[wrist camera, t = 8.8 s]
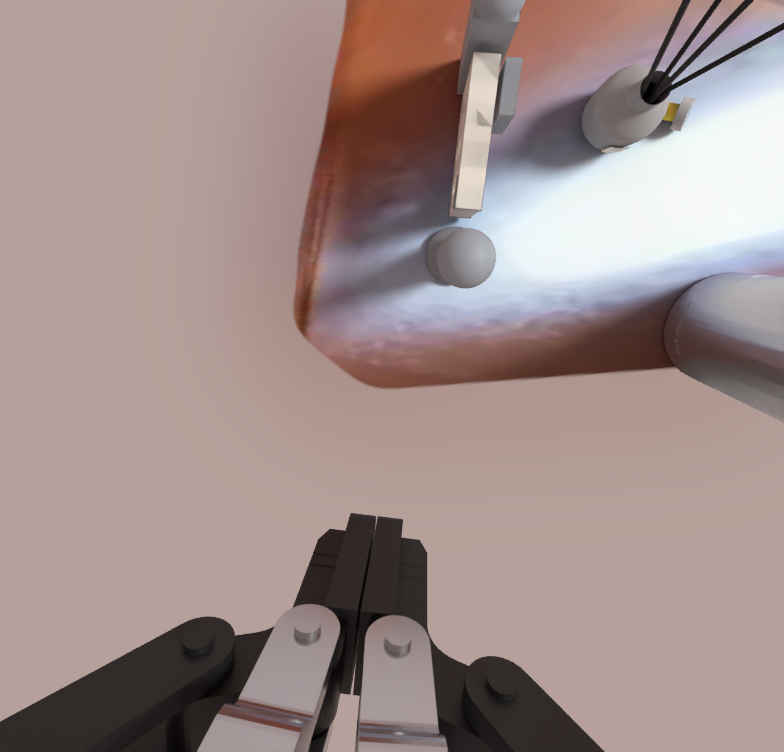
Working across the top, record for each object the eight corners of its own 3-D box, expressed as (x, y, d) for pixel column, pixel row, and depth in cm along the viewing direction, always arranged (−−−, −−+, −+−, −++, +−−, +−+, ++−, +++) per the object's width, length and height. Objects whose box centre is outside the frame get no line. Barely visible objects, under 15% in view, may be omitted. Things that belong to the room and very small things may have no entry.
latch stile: (508, 58, 34) (560, -59, 21) (497, 140, 36) (539, 78, 23) (458, 55, 34) (478, -63, 21) (449, 136, 36) (463, 73, 23)
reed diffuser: (550, 165, 36) (693, 71, 17) (545, 67, 34) (699, -164, 15) (686, 143, 35) (1004, 16, 16) (689, 41, 33) (1050, -244, 14)
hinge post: (484, 229, 38) (517, 218, 24) (477, 285, 39) (504, 305, 25) (429, 224, 38) (431, 211, 24) (423, 280, 39) (422, 297, 26)
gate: (469, 218, 37) (482, 209, 29) (447, 216, 37) (453, 207, 29) (484, 100, 35) (503, 54, 26) (460, 98, 35) (471, 52, 26)
